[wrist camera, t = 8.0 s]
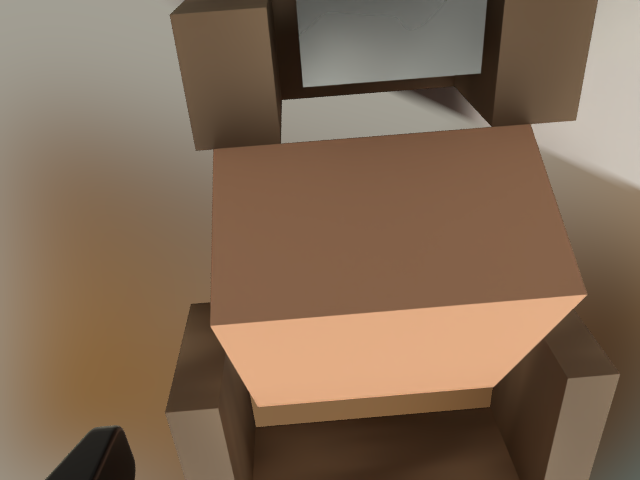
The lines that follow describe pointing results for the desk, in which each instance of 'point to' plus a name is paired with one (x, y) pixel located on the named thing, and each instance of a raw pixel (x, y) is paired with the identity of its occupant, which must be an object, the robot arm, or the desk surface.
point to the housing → (399, 422)
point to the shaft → (388, 39)
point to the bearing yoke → (286, 82)
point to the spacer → (386, 263)
